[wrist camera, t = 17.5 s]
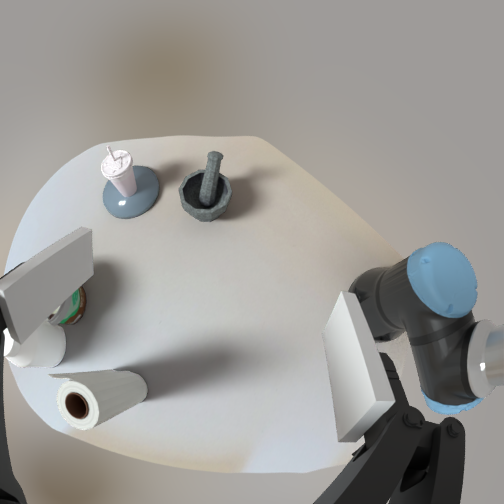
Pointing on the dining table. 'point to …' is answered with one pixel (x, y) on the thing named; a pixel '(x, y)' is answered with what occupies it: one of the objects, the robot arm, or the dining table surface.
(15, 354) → the jar
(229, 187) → the mortar and pestle
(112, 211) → the dish
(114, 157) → the smoothie
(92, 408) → the paper towel roll
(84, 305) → the food container
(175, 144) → the dining table surface
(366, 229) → the dining table surface
